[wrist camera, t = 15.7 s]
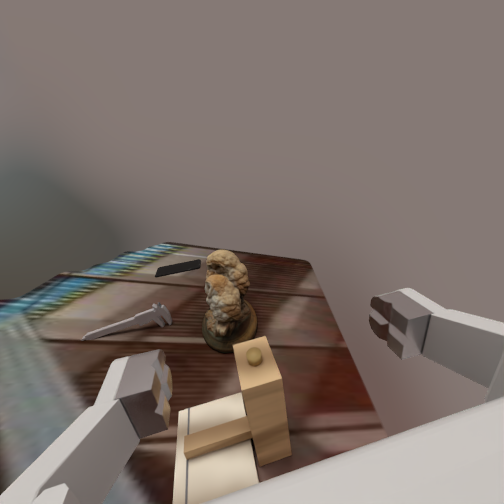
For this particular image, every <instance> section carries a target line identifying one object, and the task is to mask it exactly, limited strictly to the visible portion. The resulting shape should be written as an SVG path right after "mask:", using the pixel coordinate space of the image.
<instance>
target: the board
mask: <svg viewBox="0 0 504 504" xmlns="http://www.w3.org/2000/svg"><path fill="white" fill-rule="evenodd" d="M245 416H246V413H245V408H244V403H243V398H242V393H238V394H234V395H231V396H228V397H225V398H221V399H218V400H215V401H212V402H208V403H205V404H202V405H198V406H195V407H192V408H188V409H185V410H182V411H179V419H178V434H177V449H176V463H175V478H174V492H173V504H201V503H204V502H207V501H209V500H212V499H215V498H218V497H221V496H223V495H226V494H229V493H232V492H235V491H238V490H240V489H243V488H246V487H249V486H252V485H255V484H257V483H259V480H258V475H257V470H256V465H255V459H254V454H253V449H252V444H251V439H247V440H244V441H241V442H238V443H235V444H232V445H229V446H226V447H223V448H220V449H217V450H214V451H211V452H209V453H206V454H203V455H200V456H197V457H194V458H191V459H188V460H186V457H185V455H184V436H186V435H189V434H192V433H195V432H198V431H202V430H205V429H208V428H211V427H214V426H217V425H220V424H223V423H226V422H229V421H233V420H236V419H239V418H242V417H245Z"/></svg>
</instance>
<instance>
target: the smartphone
mask: <svg viewBox="0 0 504 504" xmlns="http://www.w3.org/2000/svg"><path fill="white" fill-rule="evenodd" d="M200 264H201V260H194V261H189V262H184V263H179V264H174V265H169V266H164V267H159V268H158V270H157V272H156V275H155V277H160V276H165V275H170V274H175V273H180V272H185V271H190V270H194V269H199V268H200Z"/></svg>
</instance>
